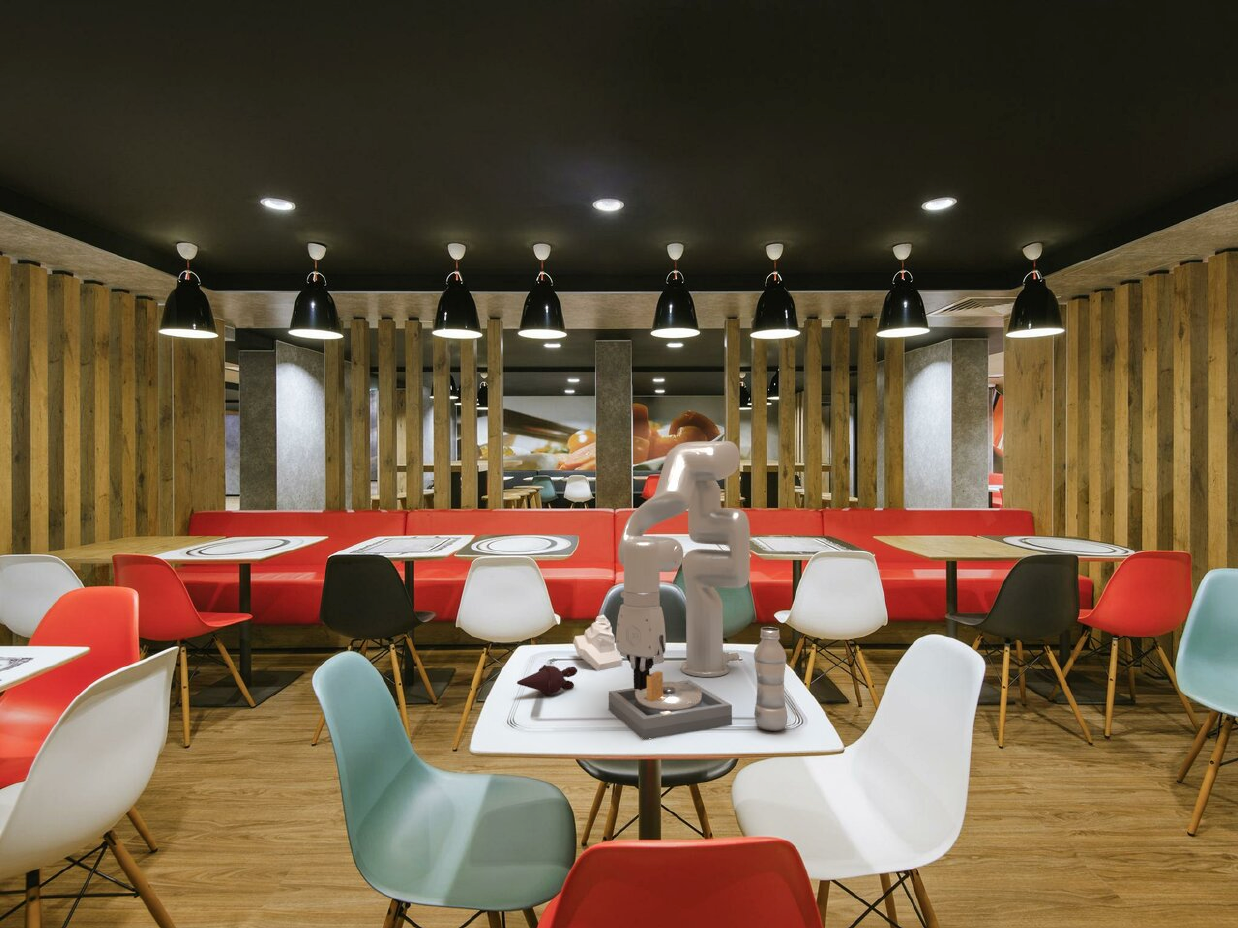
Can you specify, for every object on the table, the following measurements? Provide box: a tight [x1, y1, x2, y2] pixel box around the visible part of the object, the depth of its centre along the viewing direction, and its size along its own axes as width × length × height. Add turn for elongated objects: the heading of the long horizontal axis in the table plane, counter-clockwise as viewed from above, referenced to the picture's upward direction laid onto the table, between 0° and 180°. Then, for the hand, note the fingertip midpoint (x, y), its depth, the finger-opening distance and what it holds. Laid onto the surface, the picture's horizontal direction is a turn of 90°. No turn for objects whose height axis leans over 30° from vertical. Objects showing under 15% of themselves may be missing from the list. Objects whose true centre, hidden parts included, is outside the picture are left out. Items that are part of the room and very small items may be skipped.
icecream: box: [516, 664, 578, 697], centre depth 156 cm, size 7×7×15 cm
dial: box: [635, 670, 702, 715], centre depth 141 cm, size 14×14×8 cm
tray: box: [608, 679, 733, 740], centre depth 141 cm, size 20×18×4 cm
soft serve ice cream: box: [573, 614, 623, 671], centre depth 182 cm, size 12×15×14 cm
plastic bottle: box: [753, 626, 789, 732], centre depth 135 cm, size 6×7×20 cm
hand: (641, 687), depth 139 cm, fingers closed
